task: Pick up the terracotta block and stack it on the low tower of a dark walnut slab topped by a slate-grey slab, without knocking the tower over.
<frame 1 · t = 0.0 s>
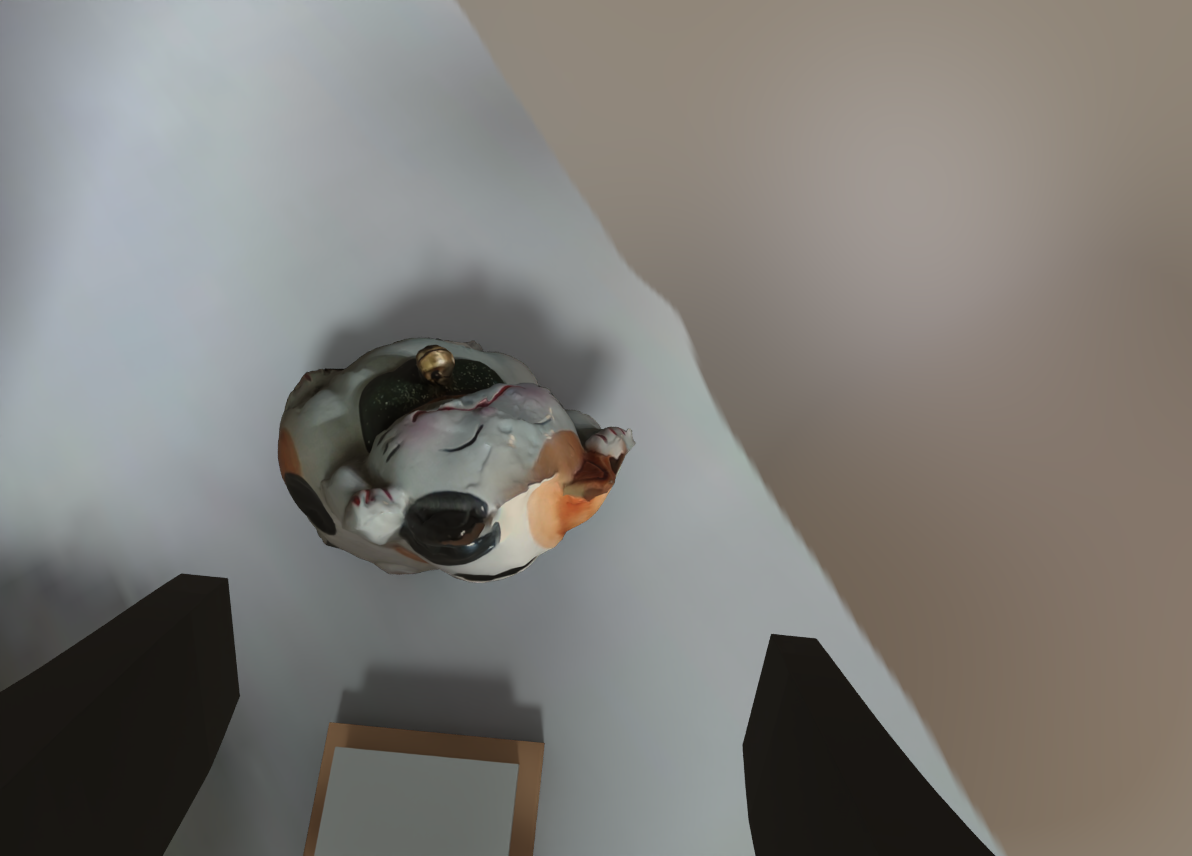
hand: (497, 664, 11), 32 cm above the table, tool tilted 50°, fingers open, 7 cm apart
lucky cat figurine: (461, 478, 47), on the table
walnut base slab: (425, 848, 40), on the table, touching slate top slab
slate top slab: (418, 853, 38), point 2 cm above the table, touching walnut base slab
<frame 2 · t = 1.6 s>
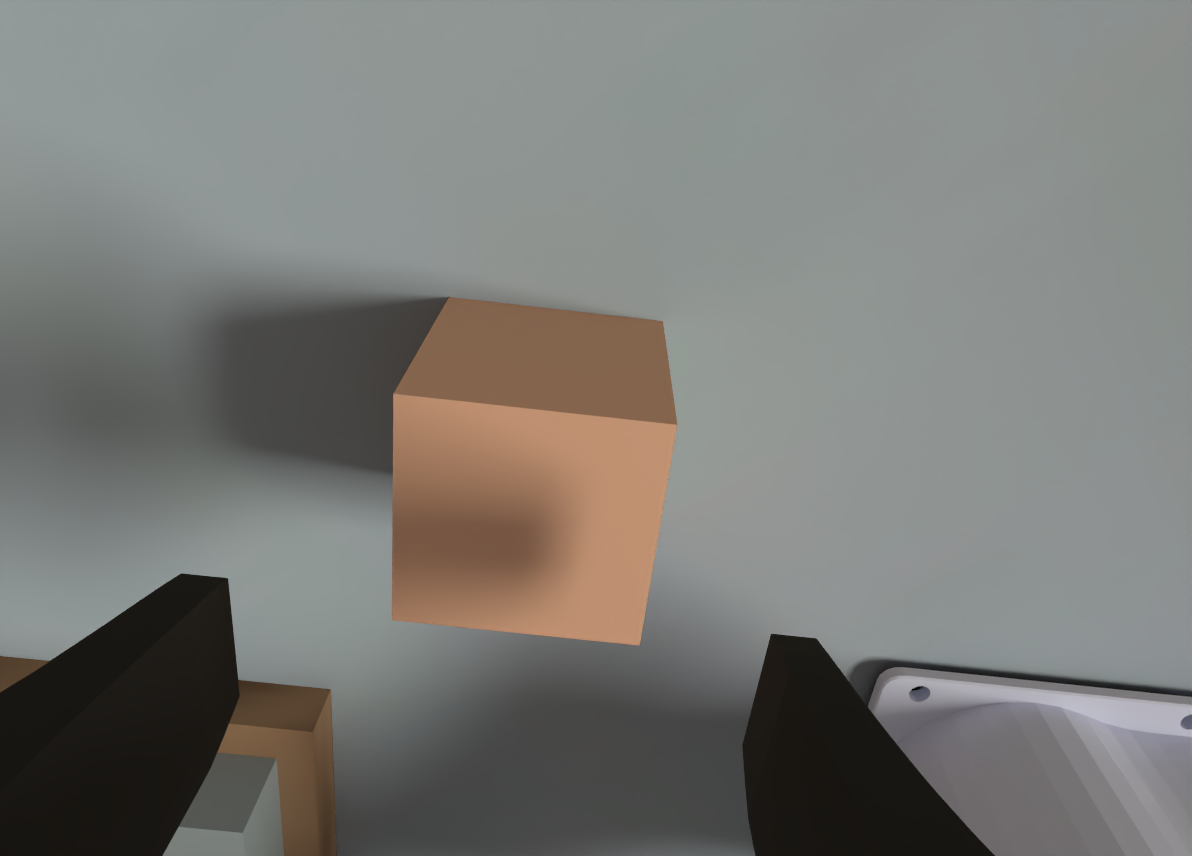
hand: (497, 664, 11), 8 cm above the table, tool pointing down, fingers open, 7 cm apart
terracotta block: (547, 404, 19), on the table
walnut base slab: (174, 782, 25), on the table, touching slate top slab
slate top slab: (138, 848, 24), point 1 cm above the table, touching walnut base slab
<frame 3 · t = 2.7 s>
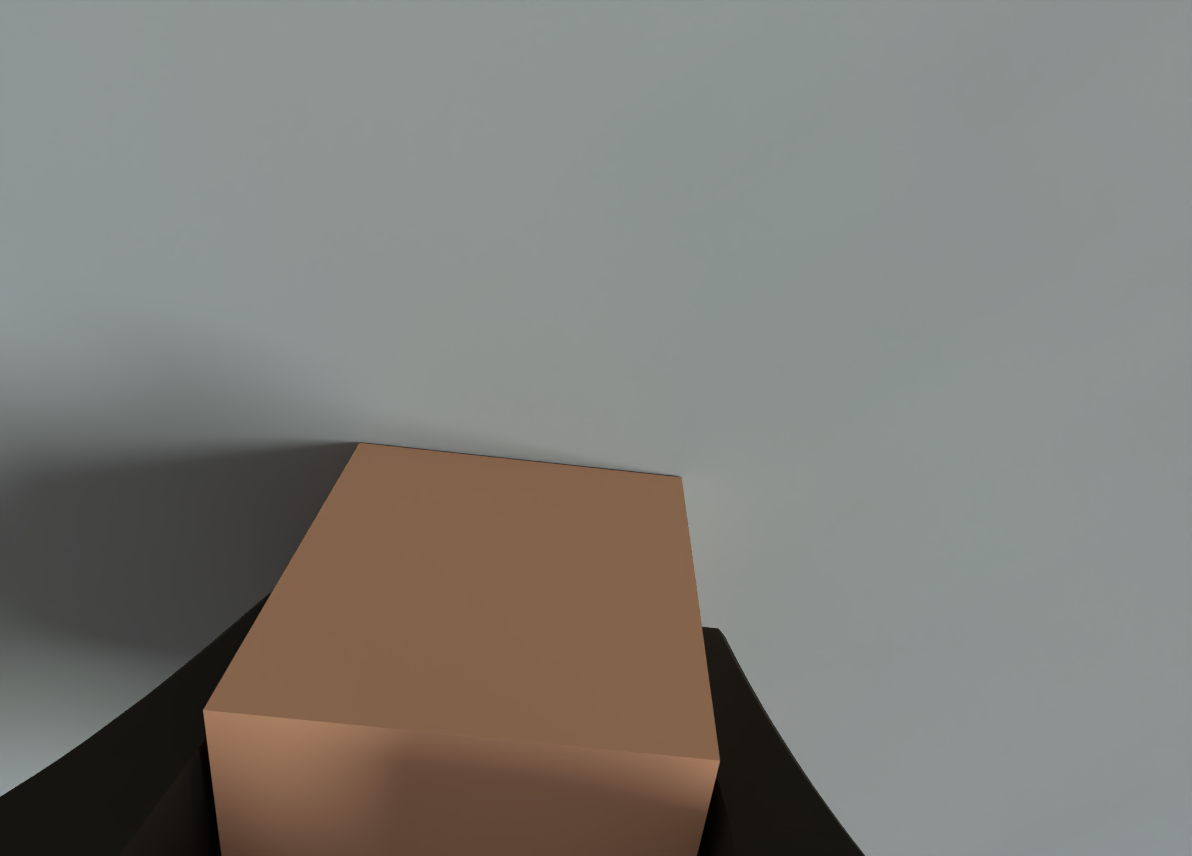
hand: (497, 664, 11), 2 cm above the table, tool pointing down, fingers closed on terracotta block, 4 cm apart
terracotta block: (510, 590, 13), on the table, touching gripper
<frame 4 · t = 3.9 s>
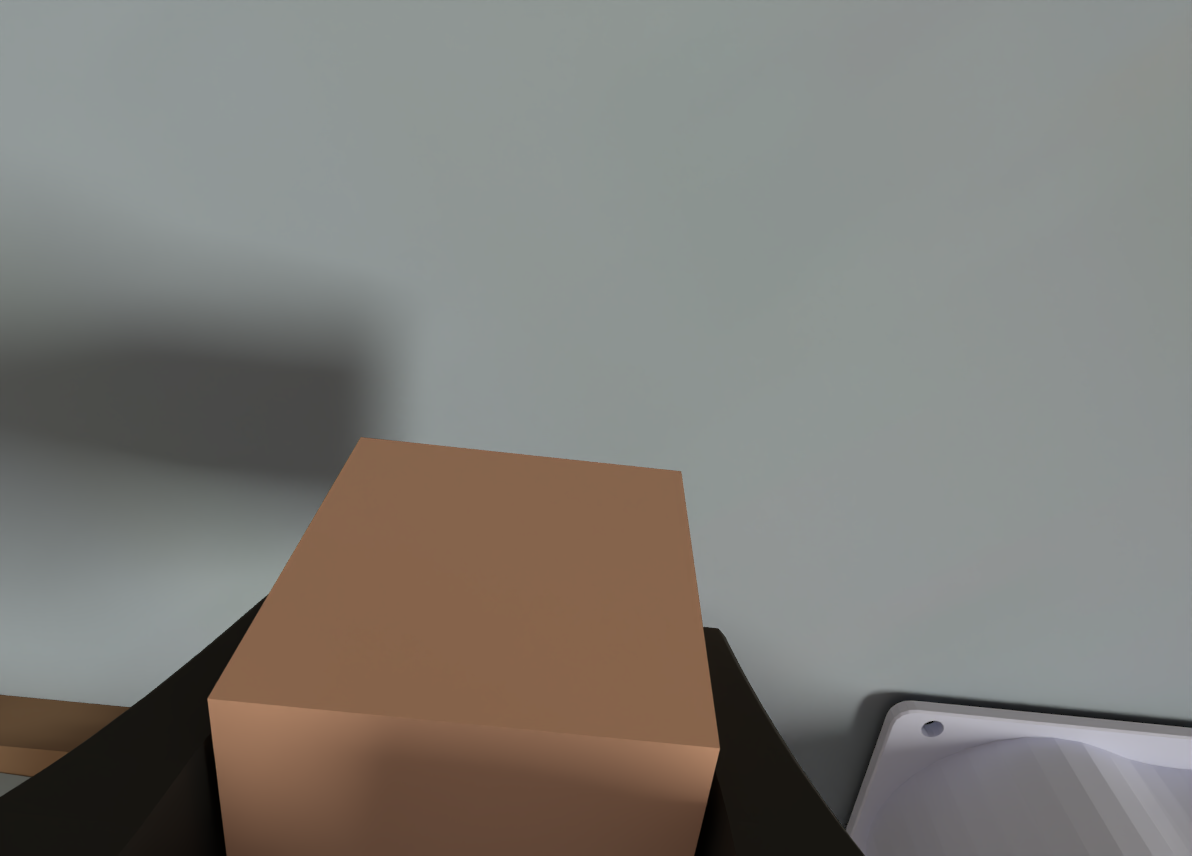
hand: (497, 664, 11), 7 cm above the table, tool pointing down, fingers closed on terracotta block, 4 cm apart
terracotta block: (511, 584, 13), point 5 cm above the table, touching gripper
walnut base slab: (145, 818, 24), on the table, touching slate top slab
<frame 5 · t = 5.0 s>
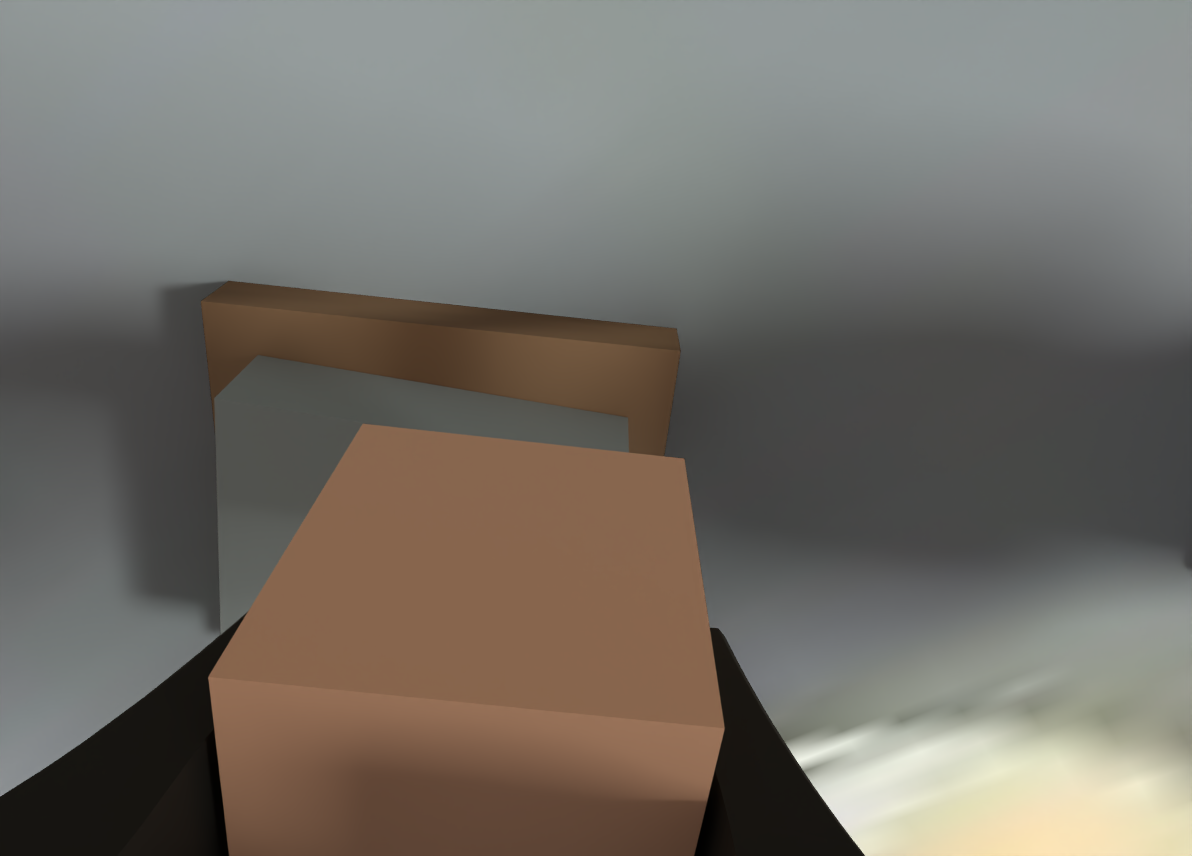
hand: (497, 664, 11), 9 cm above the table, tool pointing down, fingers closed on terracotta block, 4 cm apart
terracotta block: (513, 573, 13), point 8 cm above the table, touching gripper
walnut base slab: (453, 480, 22), on the table
slate top slab: (429, 539, 20), point 1 cm above the table
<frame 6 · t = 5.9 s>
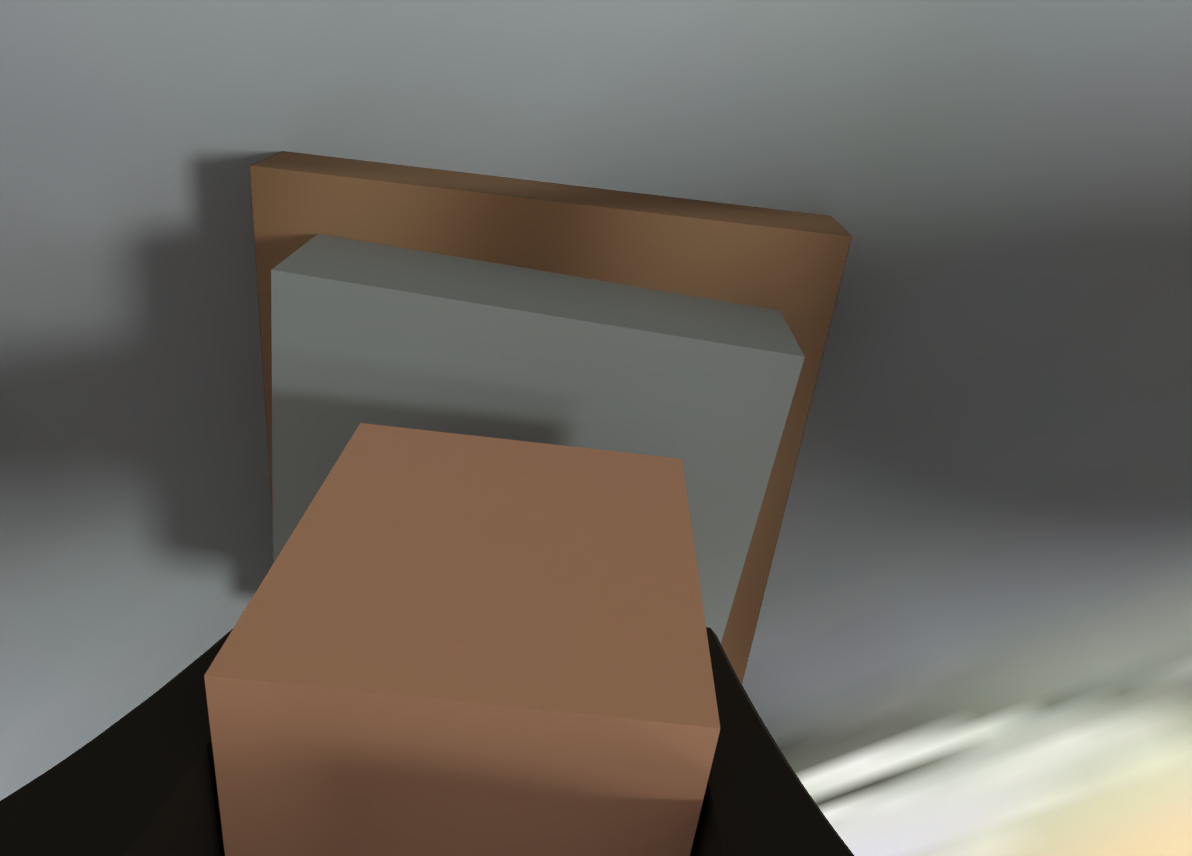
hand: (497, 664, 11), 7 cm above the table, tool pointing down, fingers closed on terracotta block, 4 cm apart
terracotta block: (510, 572, 13), point 5 cm above the table, touching gripper
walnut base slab: (539, 415, 18), on the table, touching slate top slab
slate top slab: (523, 472, 16), point 2 cm above the table, touching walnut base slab
when the fingers open (7 cm above the table, at t = 6.2 s): terracotta block drops 2 cm, resting on slate top slab.
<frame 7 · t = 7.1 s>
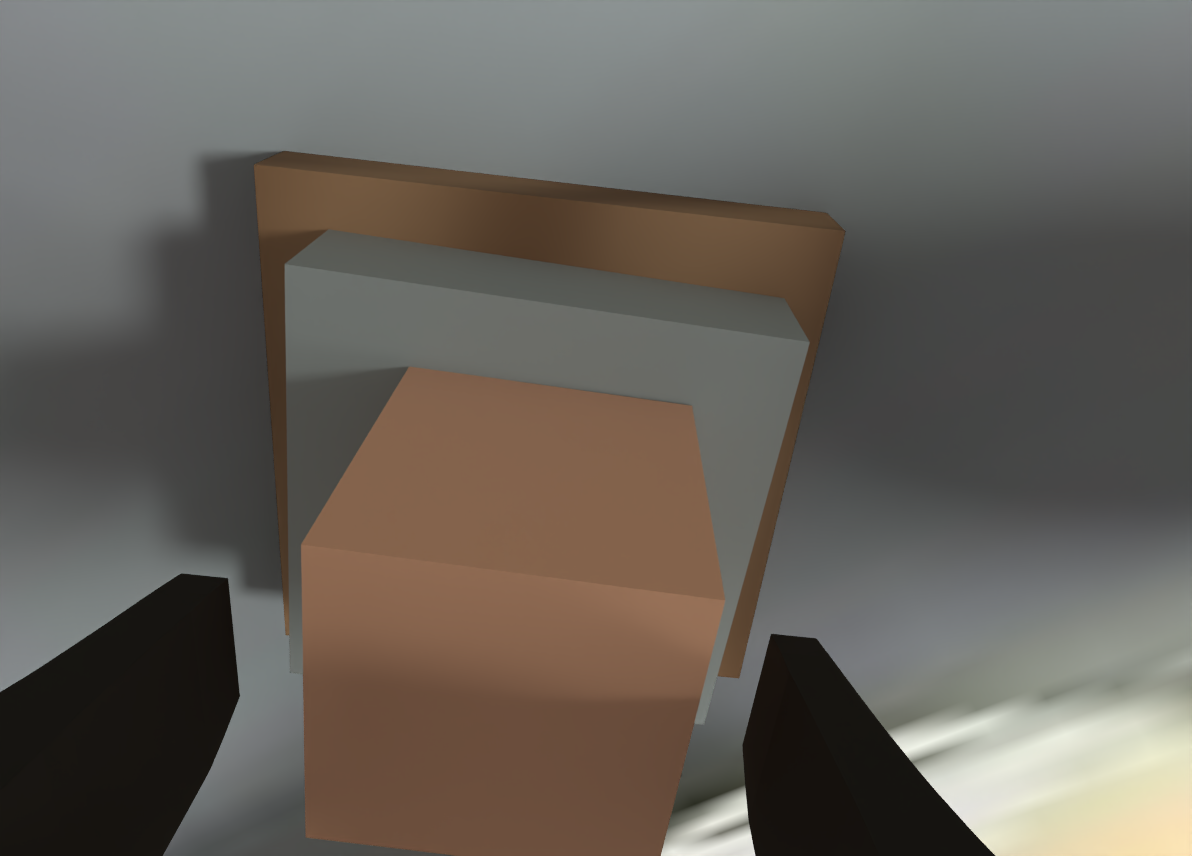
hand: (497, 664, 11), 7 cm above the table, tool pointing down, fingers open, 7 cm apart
terracotta block: (536, 507, 14), point 4 cm above the table, touching slate top slab
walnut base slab: (539, 409, 19), on the table
slate top slab: (532, 463, 17), point 1 cm above the table, touching terracotta block
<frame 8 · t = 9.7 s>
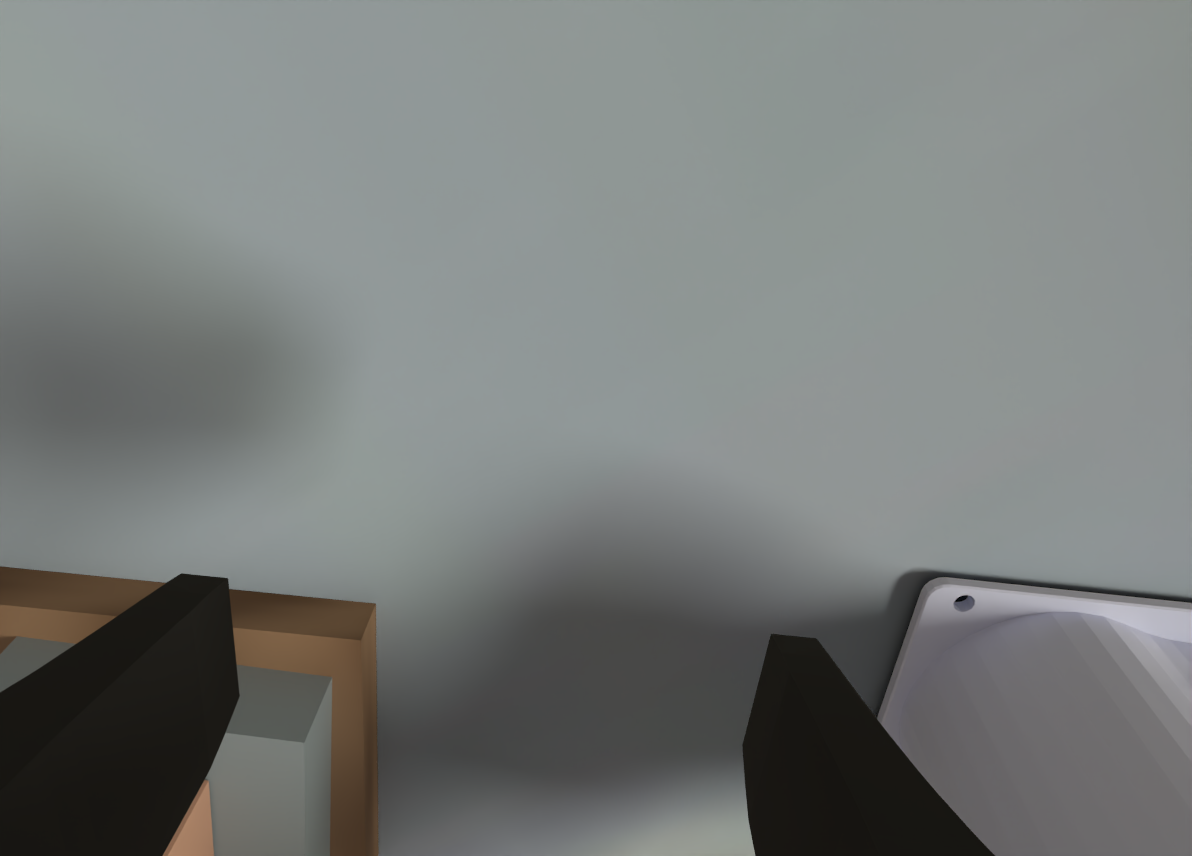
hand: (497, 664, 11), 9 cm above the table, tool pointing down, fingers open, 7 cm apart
terracotta block: (124, 829, 22), point 4 cm above the table, touching slate top slab
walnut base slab: (216, 704, 26), on the table, touching slate top slab
slate top slab: (186, 766, 24), point 1 cm above the table, touching terracotta block, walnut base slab
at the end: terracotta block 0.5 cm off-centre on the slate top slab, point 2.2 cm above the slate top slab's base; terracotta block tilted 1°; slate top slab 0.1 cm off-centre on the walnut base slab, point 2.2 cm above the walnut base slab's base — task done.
